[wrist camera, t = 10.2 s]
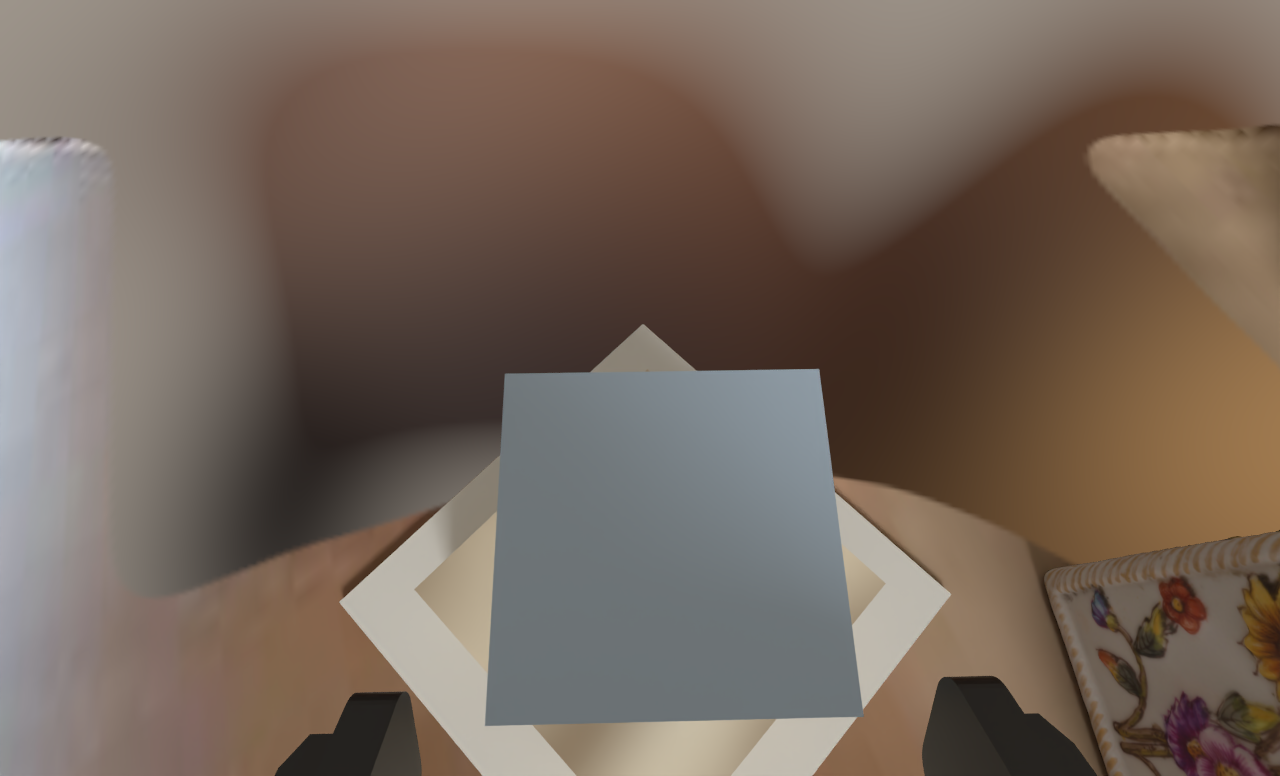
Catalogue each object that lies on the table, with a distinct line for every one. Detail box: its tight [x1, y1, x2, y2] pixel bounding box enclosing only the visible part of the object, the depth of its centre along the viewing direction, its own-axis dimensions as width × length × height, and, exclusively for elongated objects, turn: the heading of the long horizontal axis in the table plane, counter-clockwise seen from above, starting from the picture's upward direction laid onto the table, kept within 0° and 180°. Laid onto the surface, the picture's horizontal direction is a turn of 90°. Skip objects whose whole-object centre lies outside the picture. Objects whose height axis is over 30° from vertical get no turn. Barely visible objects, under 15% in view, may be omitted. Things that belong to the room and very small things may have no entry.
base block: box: [414, 369, 886, 776], centre depth 22 cm, size 10×10×5 cm
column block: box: [485, 369, 864, 726], centre depth 15 cm, size 5×5×11 cm
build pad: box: [339, 324, 951, 776], centre depth 25 cm, size 16×16×1 cm
